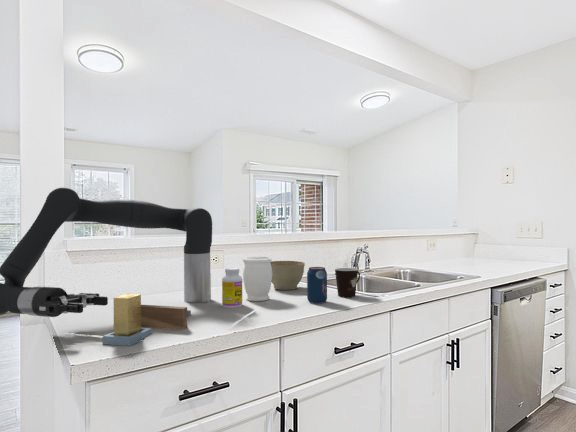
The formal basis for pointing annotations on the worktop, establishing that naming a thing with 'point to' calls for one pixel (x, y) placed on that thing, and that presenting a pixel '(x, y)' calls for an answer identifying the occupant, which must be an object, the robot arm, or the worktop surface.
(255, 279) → the jar
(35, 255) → the robot arm
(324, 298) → the soda can
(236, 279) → the supplement bottle
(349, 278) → the coffee mug
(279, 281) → the planter bowl
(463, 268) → the worktop surface
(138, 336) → the socket
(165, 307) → the board
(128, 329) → the block
